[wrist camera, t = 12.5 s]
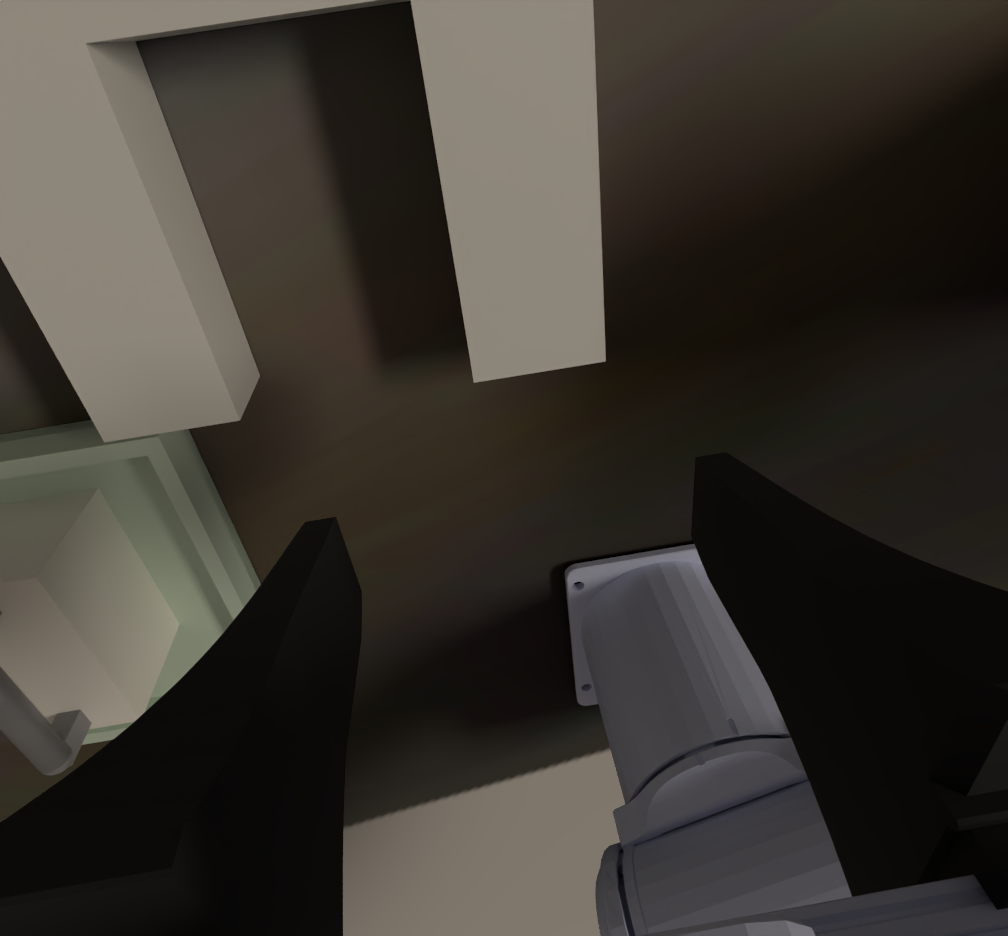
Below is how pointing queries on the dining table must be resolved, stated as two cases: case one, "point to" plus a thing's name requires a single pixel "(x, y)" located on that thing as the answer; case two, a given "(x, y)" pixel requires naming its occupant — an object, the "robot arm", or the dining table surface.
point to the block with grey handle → (74, 626)
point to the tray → (147, 525)
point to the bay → (180, 230)
